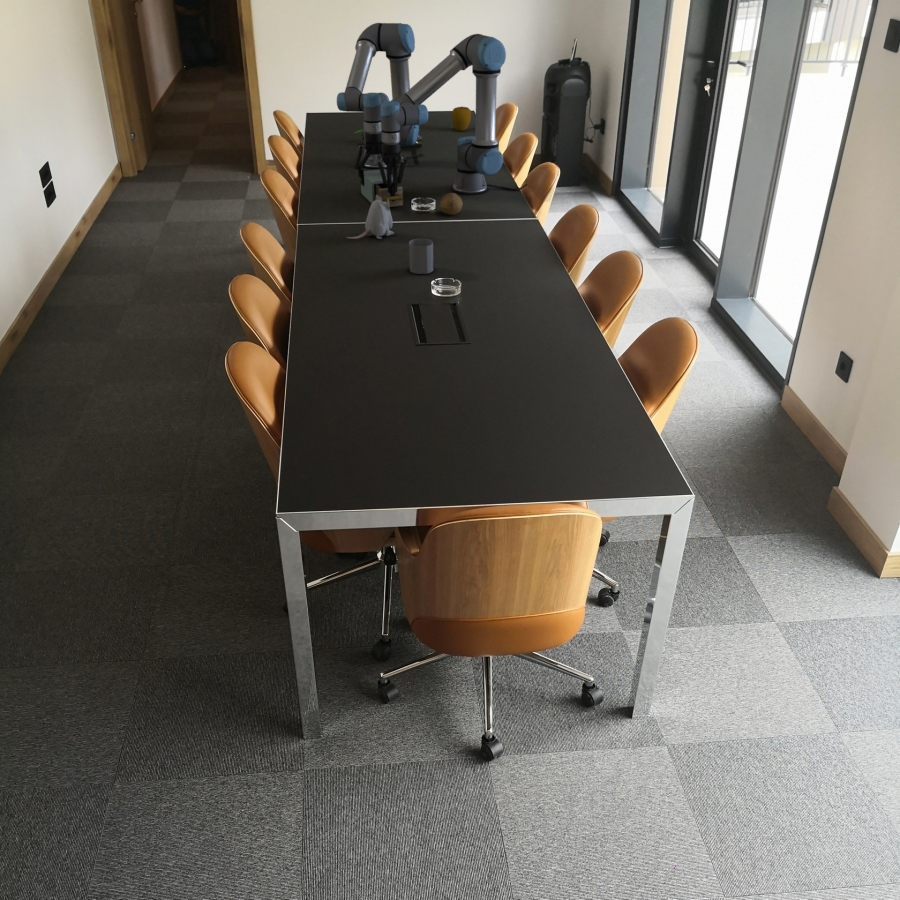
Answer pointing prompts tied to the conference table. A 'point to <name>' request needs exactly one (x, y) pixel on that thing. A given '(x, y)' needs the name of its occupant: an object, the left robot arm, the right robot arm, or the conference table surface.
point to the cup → (421, 256)
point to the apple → (461, 118)
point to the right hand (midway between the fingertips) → (392, 200)
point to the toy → (378, 220)
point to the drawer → (384, 195)
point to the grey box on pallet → (372, 183)
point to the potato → (451, 204)
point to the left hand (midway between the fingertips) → (375, 183)
